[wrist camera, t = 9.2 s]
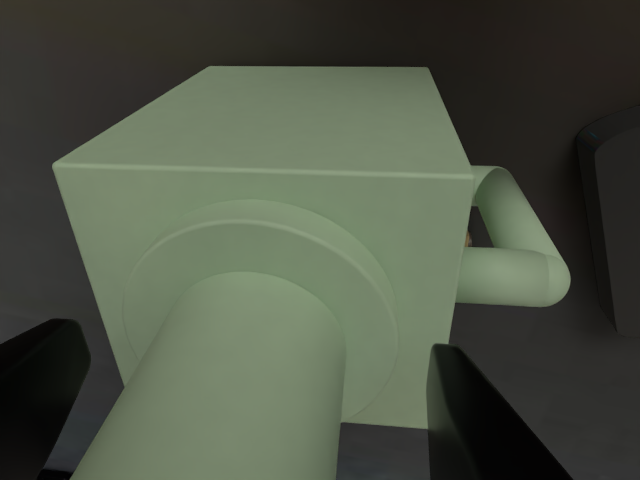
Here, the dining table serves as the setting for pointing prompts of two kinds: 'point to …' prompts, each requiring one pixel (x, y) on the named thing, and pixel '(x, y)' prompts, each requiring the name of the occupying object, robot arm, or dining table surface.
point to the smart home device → (614, 213)
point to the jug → (285, 265)
